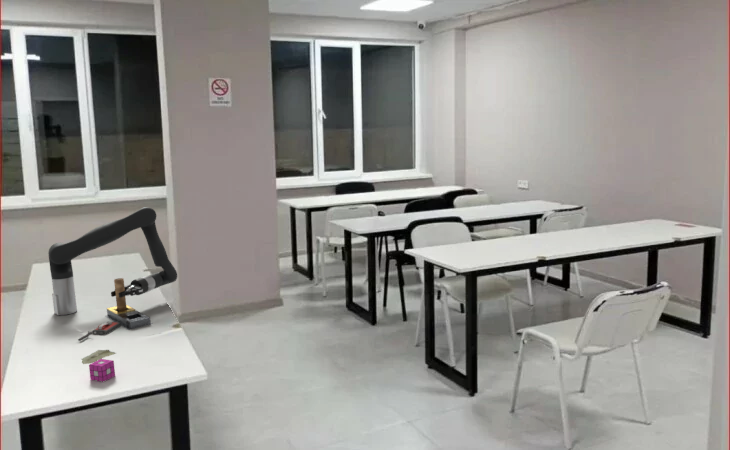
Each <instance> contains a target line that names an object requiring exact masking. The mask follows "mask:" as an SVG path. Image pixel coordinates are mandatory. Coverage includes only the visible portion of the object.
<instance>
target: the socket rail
mask: <svg viewBox="0 0 730 450" xmlns="http://www.w3.org/2000/svg"><path fill="white" fill-rule="evenodd" d="M126 308H127V310H125V311H120V312H117V305H116V306H112V307H111V306H110V307H107V308H106V312H107V314H106V315H105V317H106V318H107V319H109V320H111V322H120V327H123V328H124V329H125V330H128V331H129V330H134V329H138V328H142V327H146V326H151V325H154V324H153V322H151V318H150V317H149V316H147V315H146V314H144V313H141V312H139V311H138V310H136V309H135V308H133V307H132V306H129V305H127V304H126Z"/></svg>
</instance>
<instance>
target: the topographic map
mask: <svg viewBox="0 0 730 450" xmlns="http://www.w3.org/2000/svg"><path fill="white" fill-rule="evenodd" d="M115 354H117V352H115V351H111V350H110V349H97V350H95V351H94V352H92V353H91V354H89V355H87V356H84V357H83V358H81V363H82V364H83V365H87V364H89V365H90V364H92V363H94V362H96V361H98V360H100V359H104V358H106V357H110V356H112V355H115Z"/></svg>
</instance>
